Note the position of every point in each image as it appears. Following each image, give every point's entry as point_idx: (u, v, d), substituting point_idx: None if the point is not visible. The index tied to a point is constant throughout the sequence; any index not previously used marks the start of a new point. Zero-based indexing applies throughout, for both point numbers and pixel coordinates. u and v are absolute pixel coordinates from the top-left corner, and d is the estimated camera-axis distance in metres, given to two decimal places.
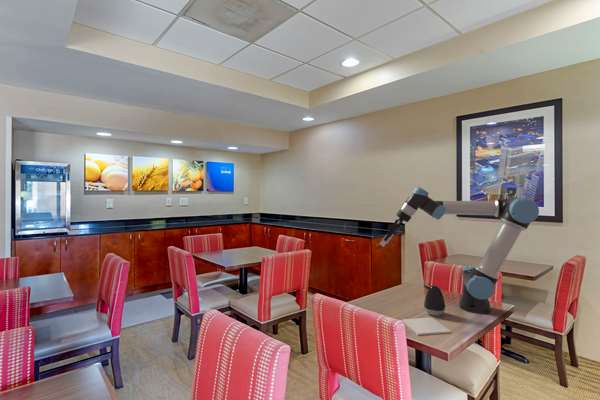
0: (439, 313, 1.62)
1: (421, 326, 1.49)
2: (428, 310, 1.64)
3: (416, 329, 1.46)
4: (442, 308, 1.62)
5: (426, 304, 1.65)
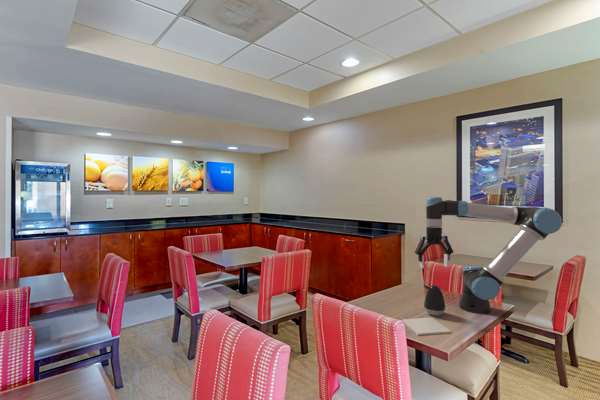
0: (439, 313, 1.62)
1: (421, 326, 1.49)
2: (428, 310, 1.64)
3: (416, 329, 1.46)
4: (442, 308, 1.62)
5: (426, 304, 1.65)
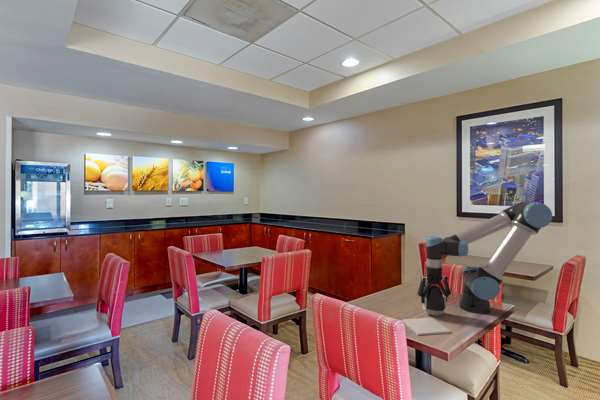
0: (439, 313, 1.62)
1: (421, 326, 1.49)
2: (428, 310, 1.64)
3: (416, 329, 1.46)
4: (442, 308, 1.62)
5: None
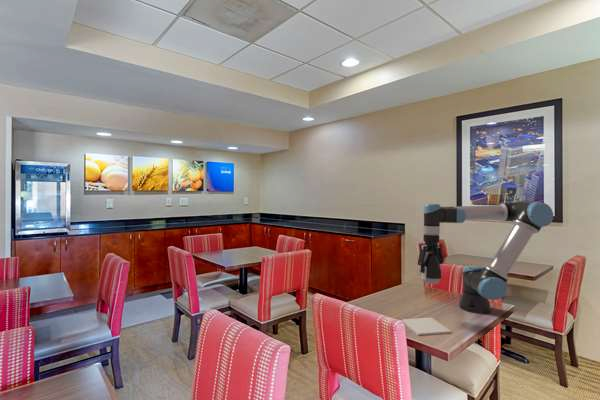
0: (438, 281, 1.58)
1: (421, 326, 1.49)
2: (427, 279, 1.58)
3: (416, 329, 1.46)
4: (440, 275, 1.59)
5: None
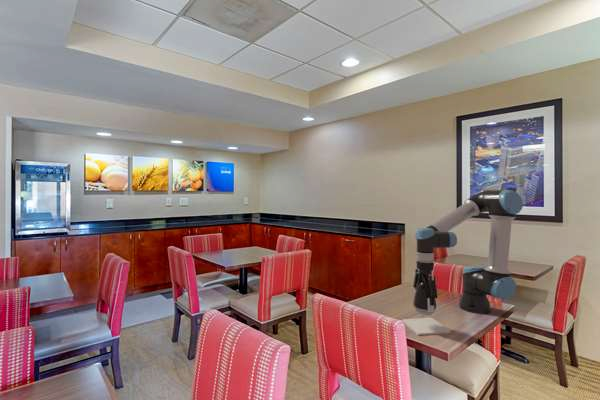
0: None
1: (421, 326, 1.49)
2: None
3: (416, 329, 1.46)
4: None
5: None
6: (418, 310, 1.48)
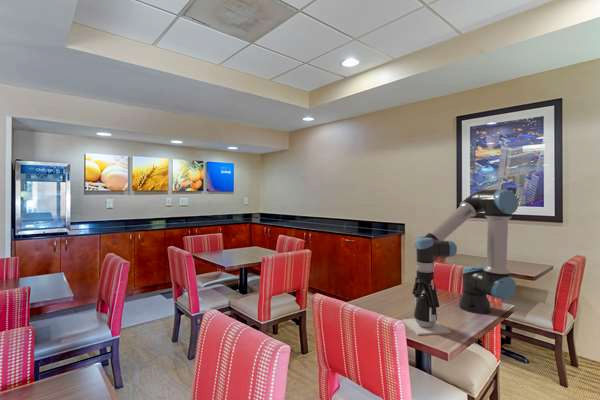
0: None
1: (421, 326, 1.49)
2: (433, 322, 1.47)
3: (416, 329, 1.46)
4: None
5: None
6: (419, 322, 1.48)
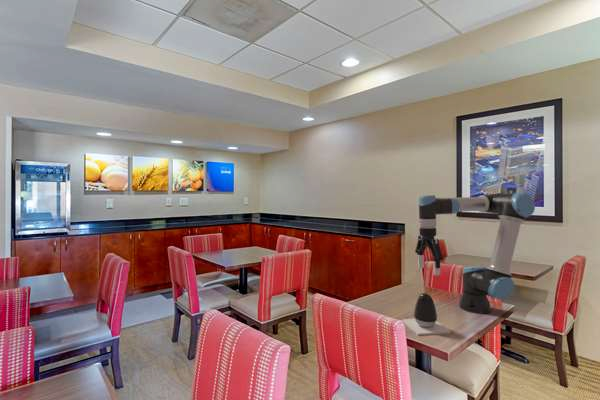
0: None
1: (421, 326, 1.49)
2: (433, 322, 1.47)
3: (416, 329, 1.46)
4: None
5: (432, 317, 1.46)
6: (419, 322, 1.48)
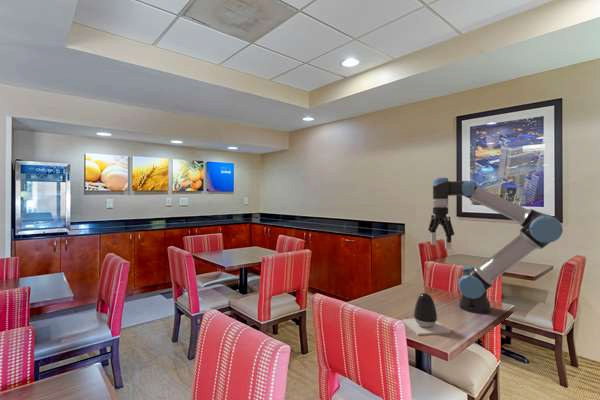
0: None
1: (421, 326, 1.49)
2: (433, 322, 1.47)
3: (416, 329, 1.46)
4: None
5: (432, 317, 1.46)
6: (419, 322, 1.48)
